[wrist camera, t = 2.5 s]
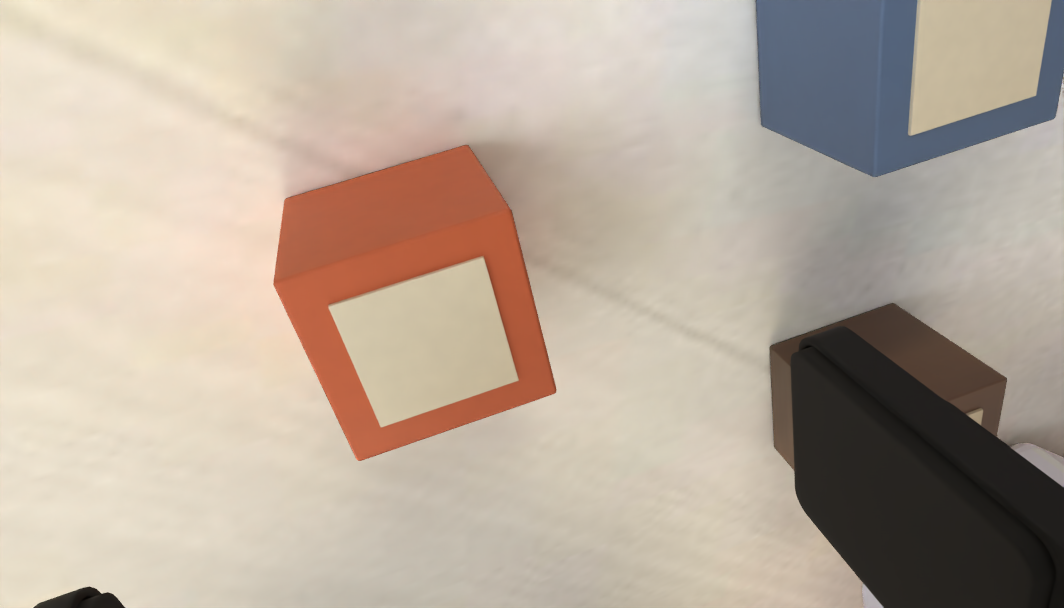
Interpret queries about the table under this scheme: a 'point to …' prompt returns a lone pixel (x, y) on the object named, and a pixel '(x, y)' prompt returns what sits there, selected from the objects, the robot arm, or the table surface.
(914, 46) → the slate block
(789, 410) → the walnut block
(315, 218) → the terracotta block
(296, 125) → the table surface
